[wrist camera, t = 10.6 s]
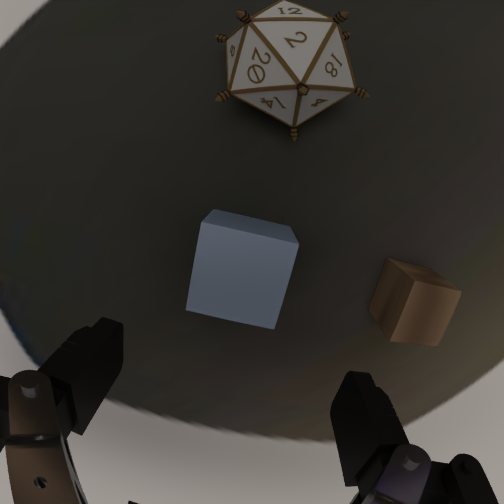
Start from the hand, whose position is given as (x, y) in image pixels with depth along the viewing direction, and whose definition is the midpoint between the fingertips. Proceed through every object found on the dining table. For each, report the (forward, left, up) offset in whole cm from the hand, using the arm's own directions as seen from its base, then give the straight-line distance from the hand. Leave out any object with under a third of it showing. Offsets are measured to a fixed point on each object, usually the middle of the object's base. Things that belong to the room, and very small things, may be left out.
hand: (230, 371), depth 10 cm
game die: (0, -13, -13) cm, 19 cm away
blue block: (0, 0, -13) cm, 13 cm away
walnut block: (-13, 0, -13) cm, 18 cm away
